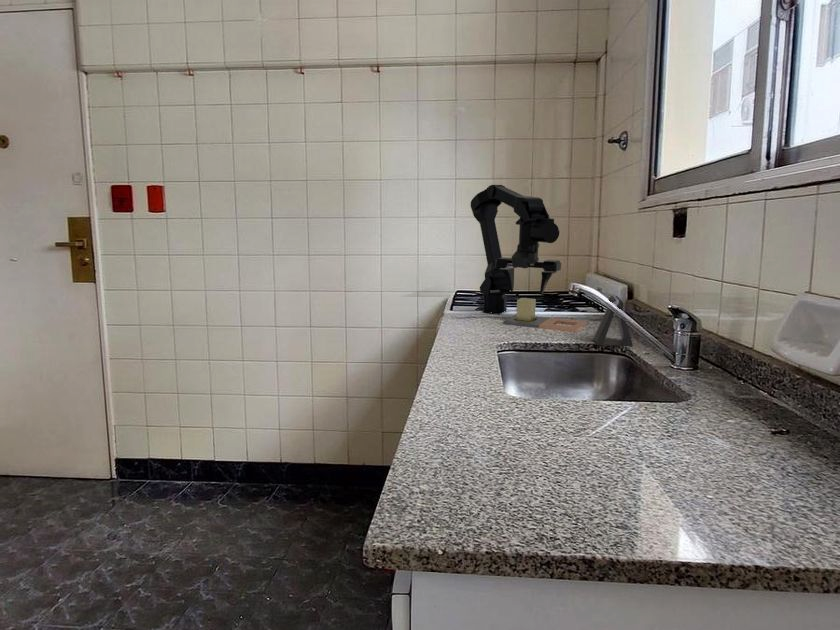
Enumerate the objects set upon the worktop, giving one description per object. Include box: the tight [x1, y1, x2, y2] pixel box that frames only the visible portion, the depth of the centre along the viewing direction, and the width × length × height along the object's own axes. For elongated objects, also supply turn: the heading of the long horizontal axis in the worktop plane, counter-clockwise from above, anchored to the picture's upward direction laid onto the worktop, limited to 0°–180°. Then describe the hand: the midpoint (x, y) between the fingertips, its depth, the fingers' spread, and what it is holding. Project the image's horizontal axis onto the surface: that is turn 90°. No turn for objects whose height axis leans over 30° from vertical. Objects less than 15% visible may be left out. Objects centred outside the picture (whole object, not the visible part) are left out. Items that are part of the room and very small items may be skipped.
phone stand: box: [593, 295, 634, 348], centre depth 144 cm, size 9×6×12 cm, turn 78°
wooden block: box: [516, 297, 537, 322], centre depth 169 cm, size 4×4×7 cm
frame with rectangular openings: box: [502, 313, 588, 333], centre depth 167 cm, size 22×12×1 cm, turn 61°
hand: (526, 292), depth 168 cm, fingers open, 9 cm apart
